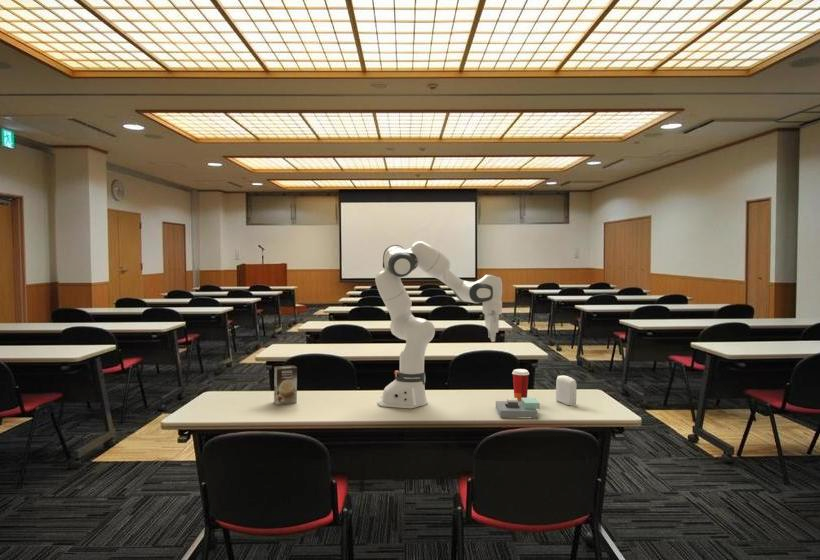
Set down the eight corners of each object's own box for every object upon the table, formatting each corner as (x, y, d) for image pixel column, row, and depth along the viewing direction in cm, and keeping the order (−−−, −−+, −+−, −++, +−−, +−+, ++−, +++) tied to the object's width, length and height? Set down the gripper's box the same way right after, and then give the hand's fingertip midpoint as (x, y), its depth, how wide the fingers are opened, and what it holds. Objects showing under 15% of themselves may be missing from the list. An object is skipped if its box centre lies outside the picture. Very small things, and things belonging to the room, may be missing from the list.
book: (577, 405, 222) (578, 378, 222) (570, 406, 220) (570, 379, 220) (561, 399, 231) (562, 373, 231) (554, 400, 230) (554, 374, 229)
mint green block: (524, 408, 206) (524, 402, 206) (521, 403, 214) (521, 397, 214) (539, 409, 206) (539, 403, 206) (535, 403, 214) (535, 397, 214)
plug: (507, 414, 209) (508, 400, 209) (507, 411, 213) (507, 397, 213) (517, 414, 209) (517, 400, 208) (516, 411, 213) (516, 397, 212)
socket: (500, 417, 204) (500, 410, 204) (495, 407, 218) (495, 401, 218) (537, 418, 203) (537, 411, 203) (530, 408, 217) (530, 401, 217)
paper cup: (527, 398, 233) (528, 368, 232) (530, 403, 225) (530, 372, 225) (510, 398, 234) (511, 368, 233) (512, 402, 226) (513, 372, 226)
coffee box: (276, 405, 220) (276, 369, 219) (273, 401, 226) (273, 366, 225) (297, 402, 224) (297, 367, 223) (294, 399, 230) (294, 364, 229)
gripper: (502, 312, 218) (501, 343, 218) (496, 308, 238) (495, 336, 239) (487, 311, 218) (487, 343, 219) (483, 307, 239) (482, 336, 239)
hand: (491, 339), depth 229 cm, fingers open, 8 cm apart
